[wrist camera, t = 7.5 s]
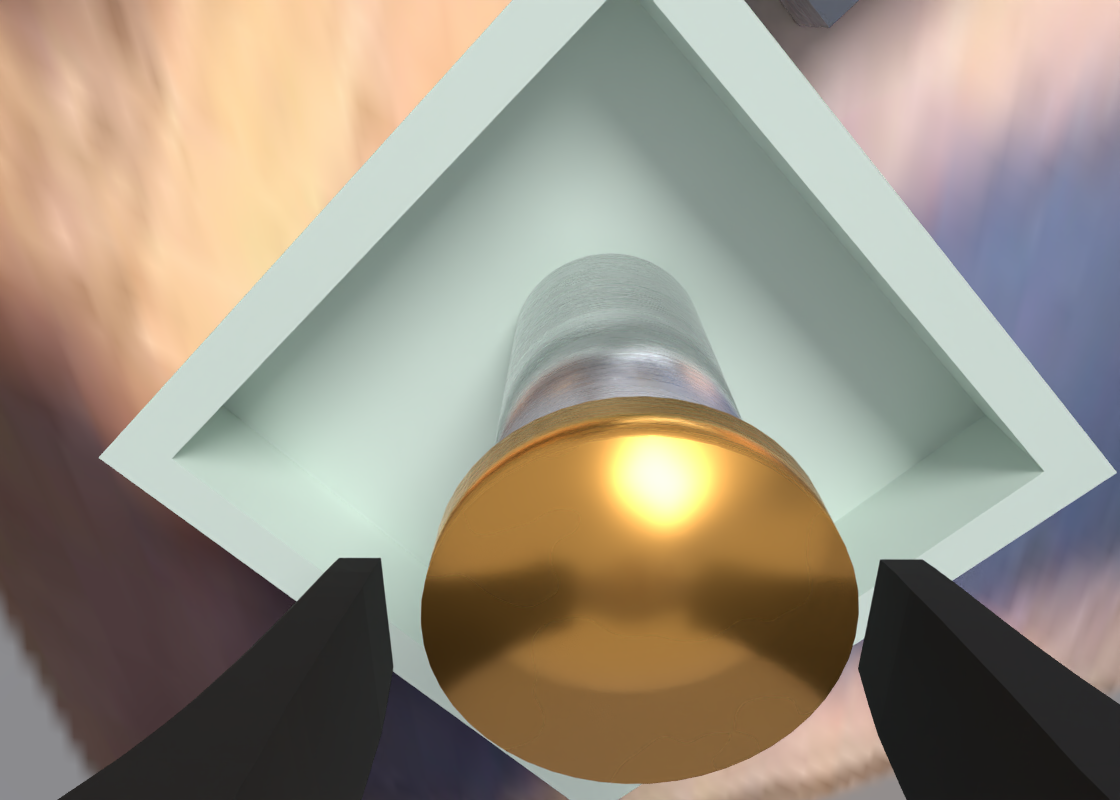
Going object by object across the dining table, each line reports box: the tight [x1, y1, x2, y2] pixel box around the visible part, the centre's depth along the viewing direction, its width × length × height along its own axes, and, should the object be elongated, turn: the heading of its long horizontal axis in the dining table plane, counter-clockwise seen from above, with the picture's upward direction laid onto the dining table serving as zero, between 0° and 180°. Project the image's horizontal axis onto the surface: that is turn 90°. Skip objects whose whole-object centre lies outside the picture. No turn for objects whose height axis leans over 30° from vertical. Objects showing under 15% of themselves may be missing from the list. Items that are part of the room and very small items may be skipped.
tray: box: [99, 0, 1117, 800], centre depth 18 cm, size 14×14×4 cm
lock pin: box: [421, 253, 859, 784], centre depth 14 cm, size 5×5×9 cm
